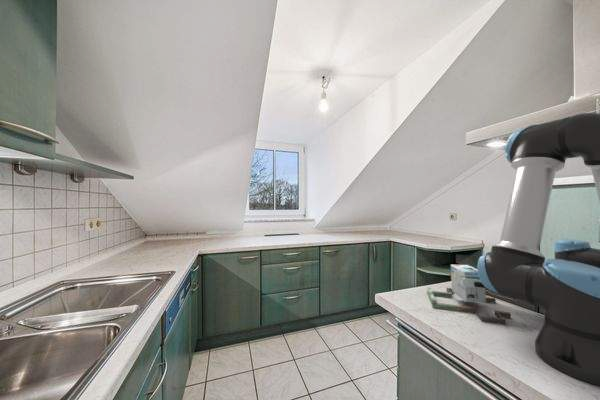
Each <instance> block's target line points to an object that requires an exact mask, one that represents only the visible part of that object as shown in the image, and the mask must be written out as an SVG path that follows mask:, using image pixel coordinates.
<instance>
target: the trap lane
mask: <svg viewBox="0 0 600 400" xmlns="http://www.w3.org/2000/svg"><path fill="white" fill-rule="evenodd" d="M426 290H427V298H428V299H429V302H430V304H431V308H434V309H435V308H436V309H442V310H448V311H456V312H464V313H470V314H476V316H477V317H478V319H479V320H480V321H481V322H483V323H491V324H495V325H496V324H497V325H505V326H506V323H507V319H512V313H511V312H509V311H502V310H494V311H493V314H494V316H491V315H484V314H482V312H480V310H479V309H478V308H477V307H472V306H467V305H466V306H465V305H458V304H450V303H443V302H437V299H436V298H435V296H436V297H442V296H443V297H444V298H450V297H452V298H453V294H455V293H454V292H452V287H446V291H439V290H432V288H431V287H427V288H426ZM451 292H452V293H451ZM443 297H442V298H443ZM490 302H494V303H493V304H496V298H495V297H489V296H486V303H490ZM504 317H505V318H506V319H505V318H504Z"/></svg>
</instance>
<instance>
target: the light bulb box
mask: <svg viewBox="0 0 600 400" xmlns="http://www.w3.org/2000/svg"><path fill="white" fill-rule="evenodd" d="M450 271H451V272H450V280H451V279H452V281H451V288H452V292H454V293H453V294H455V295H456V296H458V297H459V298H460V299H461V300H462V301H464V302H465V303H484V304H485V303H487V302H486V297H487V295H486V293H487V292H486V288H485V289H483V288H474V287H465V286H462V278H468V279H478V280H480V279H479V276H478V271H477V268H476V267H474V266H471V265H470V264H450Z"/></svg>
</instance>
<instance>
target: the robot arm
mask: <svg viewBox="0 0 600 400" xmlns="http://www.w3.org/2000/svg"><path fill="white" fill-rule="evenodd" d="M504 153H506V154H505V158H506V159H507V161H508V162H509V163H510V166H511V167H512V168H513V170H515V174H514V178H513V182H512V186H511V192H510V195H509V200H508V204H507V207H506V208H507V209H506V212H505V216H504V222H503V225H502V229H501V234H500V237H499V238H500V239H499V241H498V242H497V243H495V244H493V245H491V249H490V251H485V252H484V253H482V254H481V256H480V257H479V258H478V261H477V267H476V269H477V271H478V276H479V279H480V280H478V279H468V278H462V286H465V287H474V288H483V289H485V290H487V291H488V290H489V291H490V292H491V293H497V294H498V295H500V296H502V297H507V298H510V299H513V300H517V301H519V302H522V303H525V304H528V305H532V306H534V307H537V308H541V309H543V310H544V311H543V313H544V323H543V325H542V326H541V328H540V330H539V332H538V334H537V336H536V338H535V341H534V351H535V354H536V356H538V357H539V358H540V359H541V360H542V361H544V362H545V363H546V364H547V365H549V366H551V367H553V368H554V369H556V370H558V371H560V372H562V373H564V374H566V375H568V376H571V377H572V378H575V379H578V380H580V381H582V382H586V383H589V384H592V385H595V386H599V387H600V248H592V247H591V244H590V242H589V241H586V240H582V239H570V238H569V239H568V238H560V239H559V238H558V239H557V240H555V243H554V251H553V253H554V258H547V259H546V257H545V255H543V254H542V252H541V251H540V247H541V241H542V237H543V233H544V232H543V231H544V228H545V223H546V218H547V213H548V210H549V209H548V208H549V205H550V198H551V193H552V188H553V186H554V185H553V184H554V180H555V175H556V173H557V172H559V171H561V170H563V169H564V168H565V163H566V161H567V159H572V158H573V159H574V158H582V161H583V164H584V166H586V167H589V168H590V169H591V172H592V177H593V182H594V186H595V188H596V189H595V190H596V193H597V199H598V203H599V204H600V113H599V112H598V113H597V112H584V113H578V114H573V115H571V116H567V117H563V118H560V119H554V120H551V121H547V122H542V123H538V124H532V125H528V126H526V127H522V128H519V129H517V130H515V131H514V132H513V133H511V134H510V136H509V137H508V139H507V140H506V143H505V147H504Z"/></svg>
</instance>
